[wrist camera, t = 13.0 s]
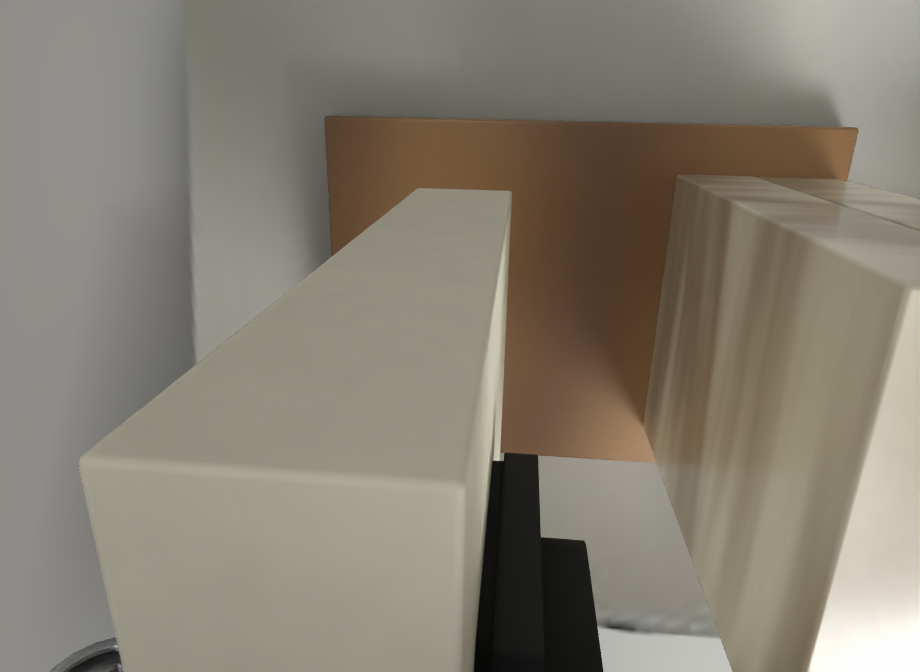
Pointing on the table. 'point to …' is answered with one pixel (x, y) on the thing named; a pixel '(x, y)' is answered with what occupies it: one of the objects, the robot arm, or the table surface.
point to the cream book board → (564, 243)
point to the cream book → (322, 465)
